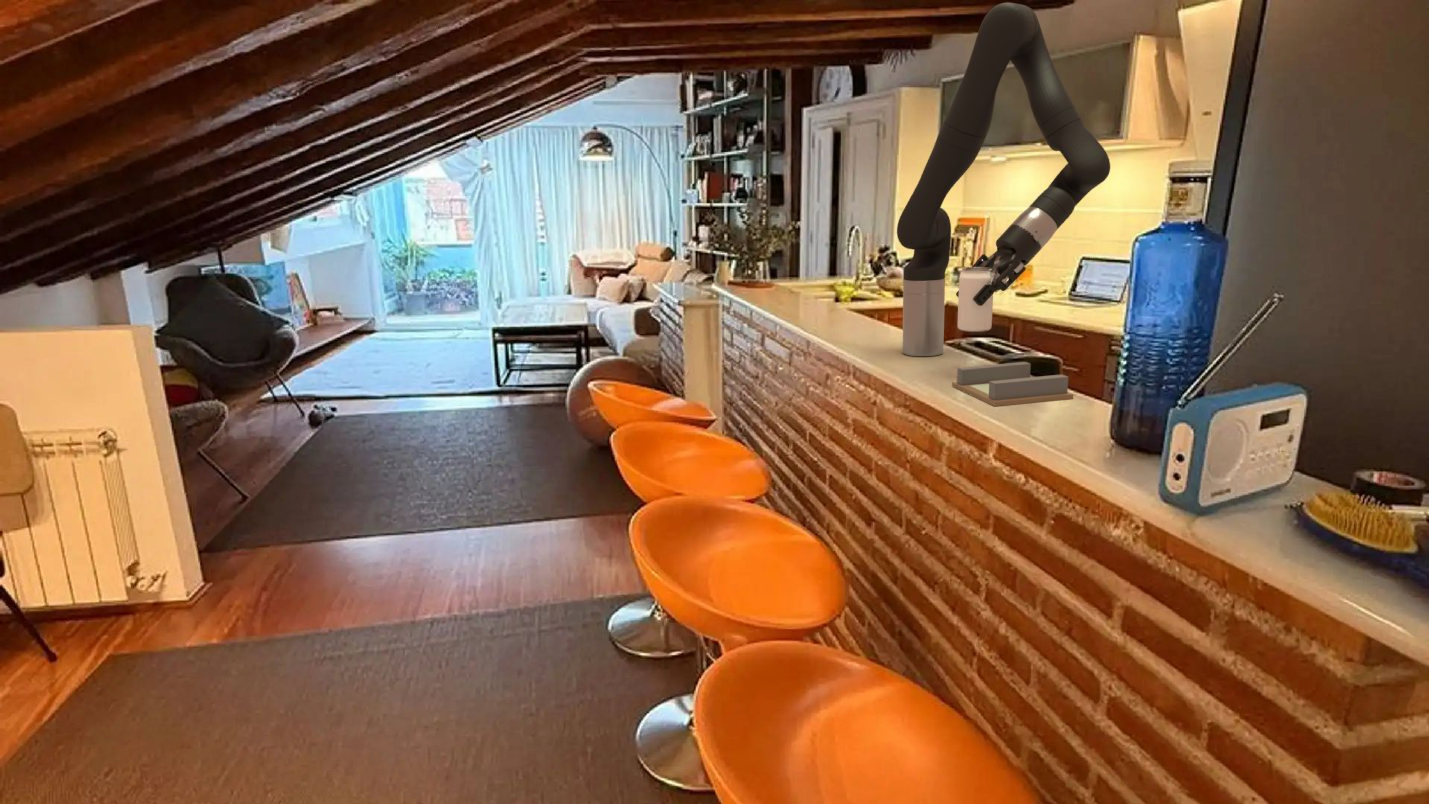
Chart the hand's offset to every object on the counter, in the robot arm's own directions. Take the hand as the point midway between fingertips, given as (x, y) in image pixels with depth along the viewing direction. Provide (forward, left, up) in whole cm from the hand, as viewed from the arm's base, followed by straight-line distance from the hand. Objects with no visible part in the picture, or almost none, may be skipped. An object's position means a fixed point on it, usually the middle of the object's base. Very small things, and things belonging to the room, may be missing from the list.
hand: (967, 300), depth 156 cm
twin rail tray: (+14, +2, -16) cm, 21 cm away
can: (0, +2, -6) cm, 6 cm away
